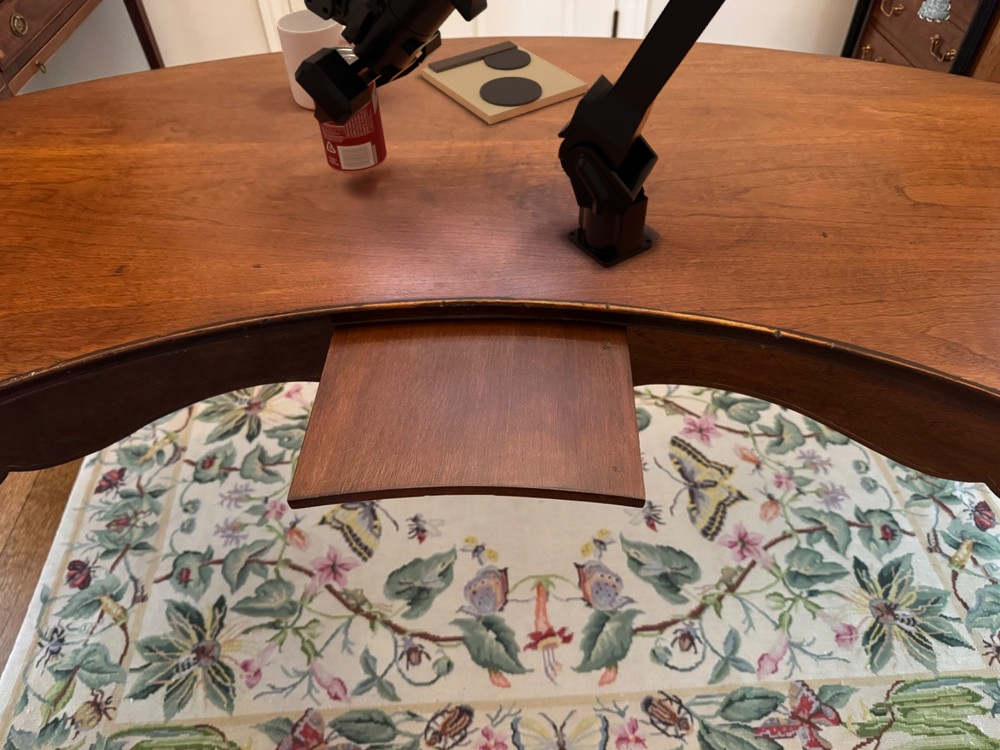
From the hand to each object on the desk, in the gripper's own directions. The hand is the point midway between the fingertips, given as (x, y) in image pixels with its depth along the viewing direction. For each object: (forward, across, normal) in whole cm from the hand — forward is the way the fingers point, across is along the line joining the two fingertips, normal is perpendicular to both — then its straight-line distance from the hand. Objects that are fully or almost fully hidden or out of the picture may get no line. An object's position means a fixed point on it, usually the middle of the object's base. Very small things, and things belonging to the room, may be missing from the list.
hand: (336, 105), depth 77 cm
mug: (+16, -18, -3) cm, 24 cm away
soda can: (+4, 0, +6) cm, 7 cm away
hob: (+3, -30, +10) cm, 32 cm away
